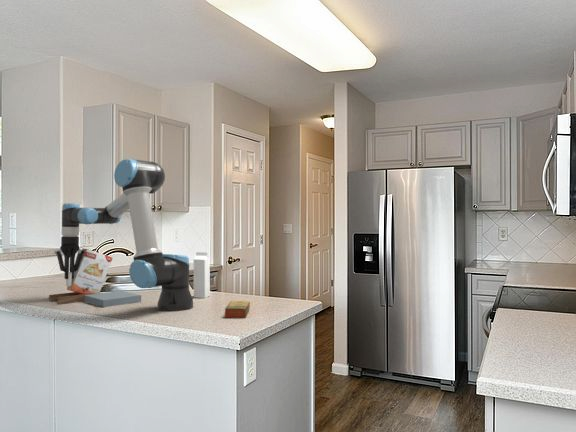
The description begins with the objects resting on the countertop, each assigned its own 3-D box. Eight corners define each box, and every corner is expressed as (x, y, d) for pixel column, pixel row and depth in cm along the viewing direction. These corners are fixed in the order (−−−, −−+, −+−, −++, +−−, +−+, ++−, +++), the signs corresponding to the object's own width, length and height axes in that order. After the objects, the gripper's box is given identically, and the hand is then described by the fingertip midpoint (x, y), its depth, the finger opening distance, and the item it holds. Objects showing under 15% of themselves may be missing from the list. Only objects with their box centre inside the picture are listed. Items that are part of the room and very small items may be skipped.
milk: (198, 296, 233) (198, 251, 234) (210, 296, 232) (209, 252, 232) (193, 297, 227) (193, 252, 228) (204, 298, 226) (204, 252, 226)
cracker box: (70, 291, 218) (87, 248, 223) (65, 289, 222) (81, 247, 227) (98, 298, 227) (113, 257, 233) (93, 296, 232) (107, 256, 237)
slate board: (141, 301, 217) (141, 295, 217) (103, 307, 204) (103, 300, 204) (120, 296, 231) (120, 290, 231) (84, 301, 218) (84, 295, 218)
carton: (249, 310, 197) (250, 300, 197) (245, 319, 181) (245, 308, 181) (230, 310, 198) (230, 300, 198) (224, 318, 181) (224, 307, 181)
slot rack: (93, 299, 222) (93, 293, 222) (58, 304, 211) (58, 297, 211) (83, 297, 230) (83, 291, 230) (49, 301, 219) (49, 294, 219)
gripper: (80, 235, 227) (79, 283, 227) (52, 235, 218) (51, 286, 218) (87, 236, 222) (85, 285, 222) (59, 236, 213) (57, 288, 213)
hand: (68, 285), depth 220 cm, fingers closed
